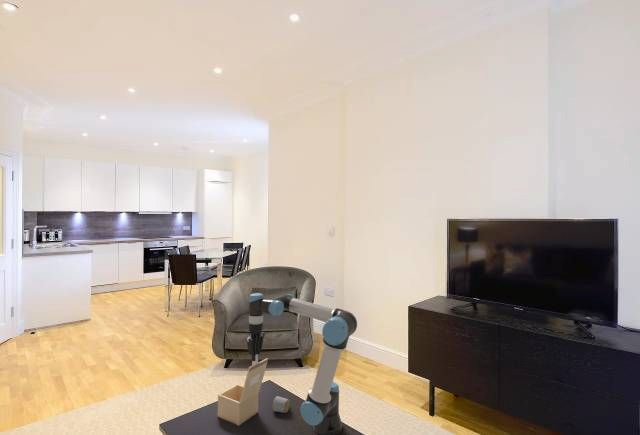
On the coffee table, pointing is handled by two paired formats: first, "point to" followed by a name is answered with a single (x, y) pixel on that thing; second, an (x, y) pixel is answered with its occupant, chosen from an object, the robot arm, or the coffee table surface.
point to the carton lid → (253, 380)
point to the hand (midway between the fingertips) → (255, 366)
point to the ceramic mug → (281, 404)
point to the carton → (236, 406)
